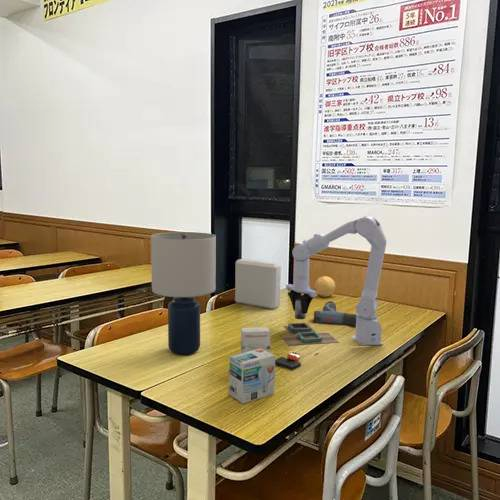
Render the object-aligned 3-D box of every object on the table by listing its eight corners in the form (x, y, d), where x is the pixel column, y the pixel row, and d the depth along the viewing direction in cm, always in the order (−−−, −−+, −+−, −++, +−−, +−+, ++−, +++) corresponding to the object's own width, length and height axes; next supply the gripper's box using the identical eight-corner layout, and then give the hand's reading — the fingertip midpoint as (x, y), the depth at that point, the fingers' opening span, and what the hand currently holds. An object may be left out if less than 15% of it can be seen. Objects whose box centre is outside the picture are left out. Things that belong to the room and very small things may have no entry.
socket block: (316, 334, 173) (316, 329, 172) (290, 336, 171) (290, 330, 170) (307, 326, 182) (307, 321, 182) (282, 327, 180) (283, 322, 180)
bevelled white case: (282, 306, 211) (283, 262, 208) (273, 310, 204) (274, 265, 201) (243, 299, 222) (243, 257, 219) (233, 303, 215) (233, 260, 212)
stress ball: (331, 296, 234) (317, 281, 237) (342, 284, 228) (328, 269, 231) (321, 303, 227) (307, 288, 230) (332, 290, 221) (317, 275, 224)
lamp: (155, 365, 142) (153, 237, 136) (150, 342, 162) (149, 230, 156) (220, 359, 148) (221, 236, 142) (209, 338, 167) (209, 229, 161)
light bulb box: (242, 404, 118) (243, 363, 117) (227, 394, 124) (228, 355, 122) (275, 394, 124) (276, 355, 123) (260, 384, 130) (261, 347, 128)
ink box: (268, 362, 145) (268, 326, 144) (270, 369, 140) (271, 331, 139) (240, 363, 144) (240, 326, 143) (241, 370, 140) (242, 331, 138)
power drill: (360, 314, 201) (361, 329, 182) (316, 311, 205) (313, 325, 185) (361, 302, 200) (362, 315, 181) (317, 299, 204) (313, 312, 184)
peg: (306, 319, 174) (307, 300, 173) (296, 319, 173) (297, 301, 172) (303, 316, 178) (304, 298, 177) (293, 316, 177) (293, 298, 176)
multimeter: (297, 347, 161) (297, 337, 160) (326, 356, 152) (326, 346, 152) (261, 361, 148) (261, 351, 147) (291, 372, 140) (291, 362, 139)
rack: (338, 344, 163) (339, 338, 163) (289, 347, 159) (289, 341, 159) (328, 334, 173) (328, 329, 172) (280, 337, 169) (281, 332, 168)
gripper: (323, 278, 170) (321, 314, 172) (295, 271, 181) (294, 306, 183) (309, 280, 166) (308, 317, 168) (282, 273, 177) (281, 308, 179)
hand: (300, 312), depth 175 cm, fingers closed on peg, 4 cm apart
